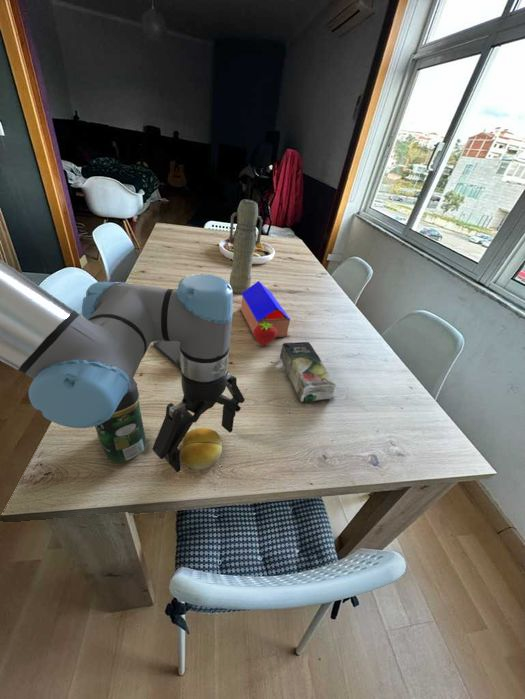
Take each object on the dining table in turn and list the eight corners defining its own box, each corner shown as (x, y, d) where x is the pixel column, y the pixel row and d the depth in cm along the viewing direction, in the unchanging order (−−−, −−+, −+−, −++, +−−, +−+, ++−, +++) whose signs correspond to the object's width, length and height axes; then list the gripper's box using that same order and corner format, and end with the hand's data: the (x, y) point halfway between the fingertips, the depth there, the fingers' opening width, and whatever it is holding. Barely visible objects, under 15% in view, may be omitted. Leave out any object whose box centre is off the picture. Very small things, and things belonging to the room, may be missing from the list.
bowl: (284, 261, 164) (286, 247, 159) (245, 270, 144) (247, 254, 140) (247, 244, 178) (248, 230, 174) (207, 250, 159) (208, 235, 154)
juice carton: (334, 401, 79) (341, 385, 76) (301, 405, 76) (306, 388, 73) (306, 356, 94) (310, 340, 91) (277, 358, 92) (281, 342, 88)
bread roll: (178, 471, 57) (177, 459, 55) (185, 433, 64) (184, 421, 62) (220, 472, 58) (221, 460, 56) (222, 434, 66) (223, 423, 63)
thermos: (255, 294, 125) (268, 205, 104) (227, 293, 121) (235, 201, 101) (250, 285, 131) (261, 200, 111) (224, 284, 128) (231, 196, 107)
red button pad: (152, 346, 87) (151, 338, 85) (192, 331, 96) (192, 323, 94) (185, 375, 79) (185, 366, 77) (225, 355, 89) (225, 347, 87)
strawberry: (276, 351, 94) (282, 325, 88) (253, 351, 92) (257, 325, 86) (271, 340, 99) (276, 314, 93) (249, 340, 96) (253, 314, 91)
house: (254, 338, 98) (259, 308, 91) (239, 309, 113) (243, 280, 106) (287, 336, 102) (294, 307, 95) (268, 308, 117) (273, 280, 110)
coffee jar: (95, 435, 61) (75, 368, 50) (134, 419, 65) (123, 354, 54) (110, 471, 55) (90, 404, 44) (151, 452, 60) (143, 386, 49)
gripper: (148, 423, 38) (159, 502, 51) (270, 351, 55) (256, 424, 67) (119, 392, 42) (136, 473, 54) (241, 333, 58) (233, 406, 71)
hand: (202, 446), depth 61 cm, fingers open, 13 cm apart
